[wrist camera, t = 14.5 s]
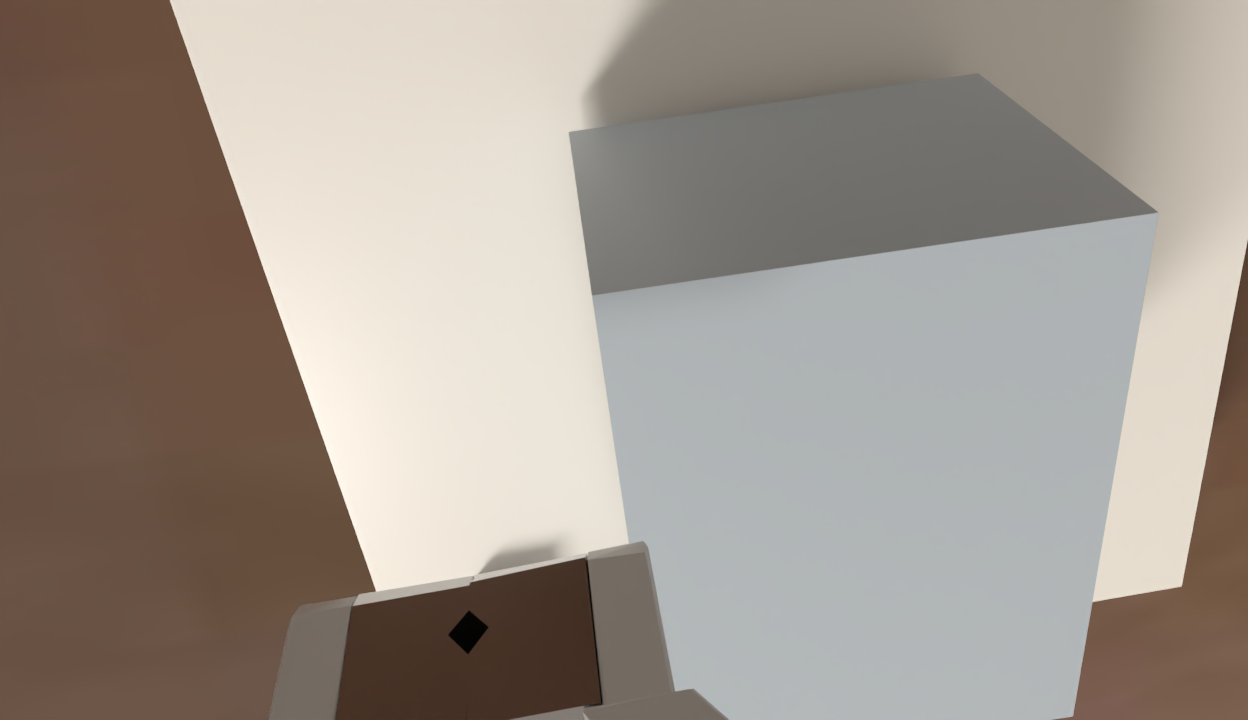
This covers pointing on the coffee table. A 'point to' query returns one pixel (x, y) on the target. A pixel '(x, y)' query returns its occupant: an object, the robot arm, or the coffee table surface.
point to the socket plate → (554, 243)
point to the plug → (866, 394)
